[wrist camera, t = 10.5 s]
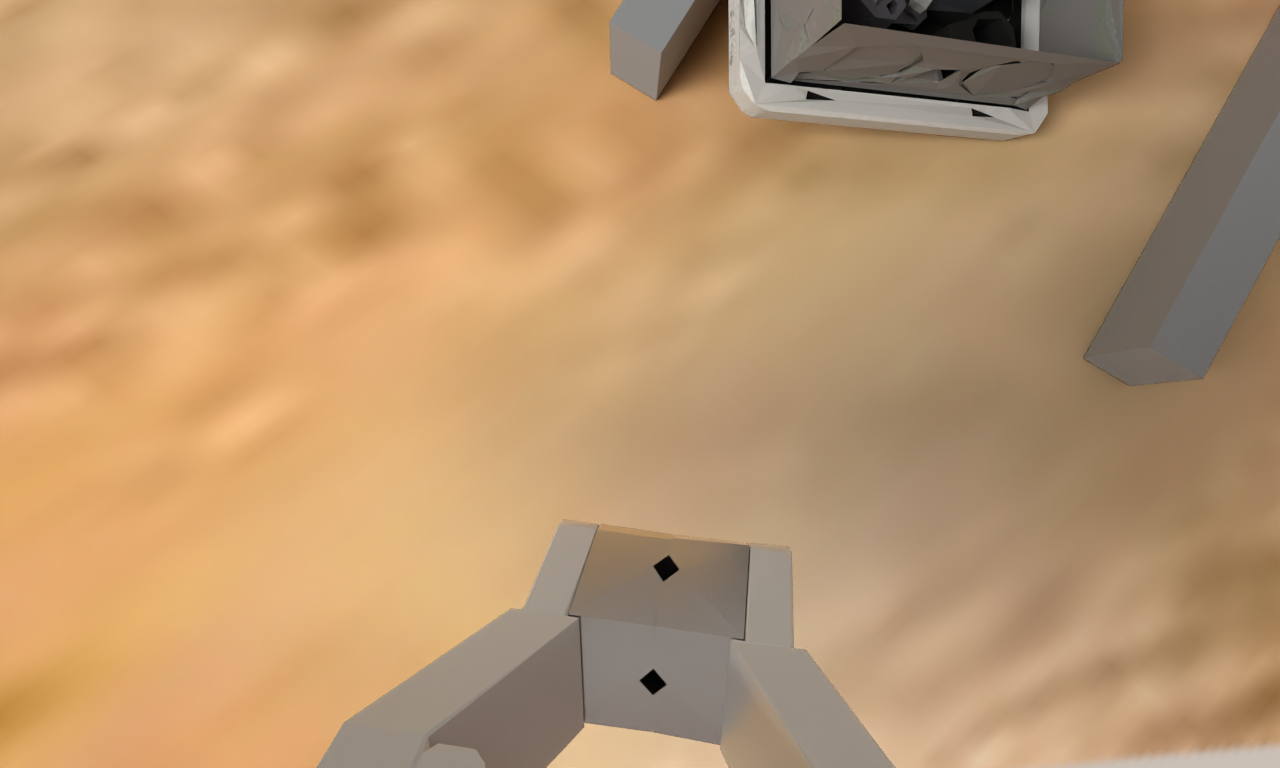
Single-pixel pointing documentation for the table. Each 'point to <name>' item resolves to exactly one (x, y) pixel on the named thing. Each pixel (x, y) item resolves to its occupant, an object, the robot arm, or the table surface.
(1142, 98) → the table surface
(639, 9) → the frame
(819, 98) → the electrical switch
